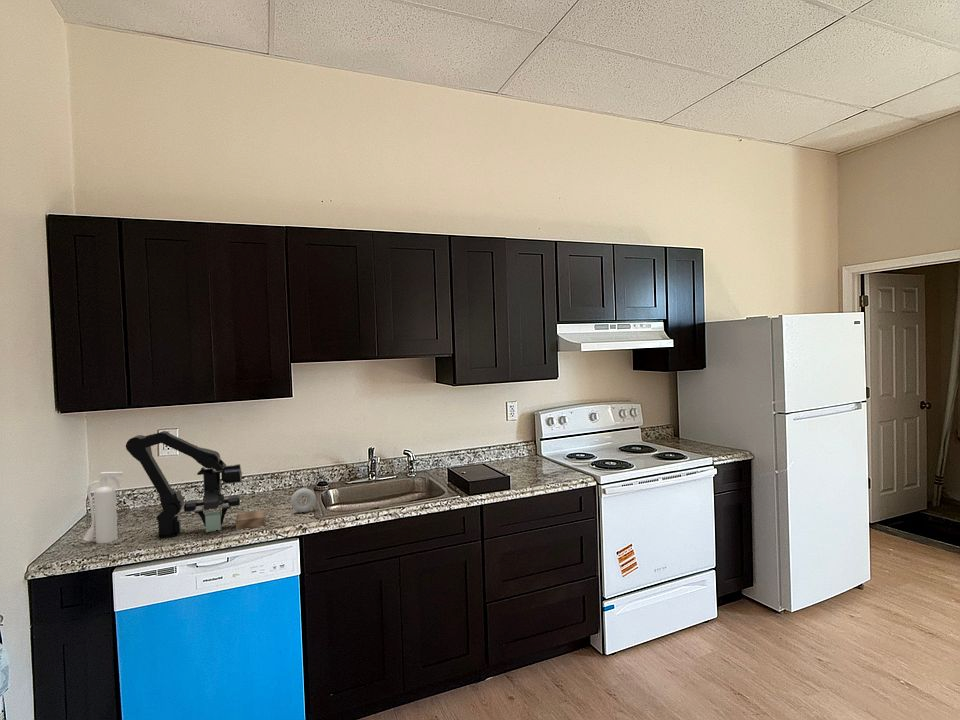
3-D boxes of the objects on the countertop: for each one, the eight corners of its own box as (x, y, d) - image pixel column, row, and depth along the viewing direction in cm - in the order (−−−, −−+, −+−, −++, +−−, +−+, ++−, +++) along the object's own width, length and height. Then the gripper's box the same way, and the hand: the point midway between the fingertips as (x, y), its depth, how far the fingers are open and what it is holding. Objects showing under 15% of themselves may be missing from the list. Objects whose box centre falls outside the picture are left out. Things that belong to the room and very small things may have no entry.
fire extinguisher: (85, 540, 195) (84, 472, 195) (124, 535, 201) (124, 469, 200) (80, 546, 189) (80, 476, 189) (121, 541, 195) (121, 473, 194)
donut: (316, 509, 226) (315, 485, 226) (316, 511, 223) (315, 487, 223) (290, 512, 222) (290, 488, 222) (291, 515, 219) (290, 490, 219)
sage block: (205, 532, 201) (205, 516, 200) (207, 528, 205) (206, 512, 205) (220, 530, 203) (220, 514, 202) (221, 526, 207) (221, 510, 207)
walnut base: (236, 531, 202) (235, 520, 202) (237, 523, 212) (237, 513, 212) (264, 527, 206) (264, 517, 206) (265, 520, 215) (264, 510, 215)
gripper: (181, 493, 193) (183, 536, 193) (238, 486, 200) (239, 528, 200) (185, 486, 203) (187, 527, 203) (239, 480, 210) (240, 519, 210)
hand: (213, 525), depth 204 cm, fingers closed on sage block, 5 cm apart
